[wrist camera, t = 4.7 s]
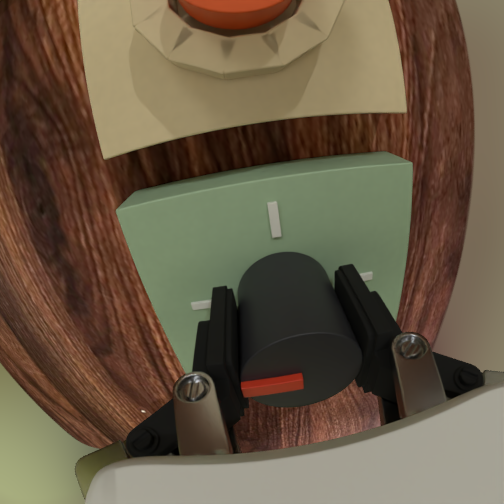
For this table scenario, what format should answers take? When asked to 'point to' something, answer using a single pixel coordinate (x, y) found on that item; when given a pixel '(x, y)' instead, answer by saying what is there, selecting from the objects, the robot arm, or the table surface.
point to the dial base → (267, 230)
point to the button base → (233, 68)
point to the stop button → (234, 12)
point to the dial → (293, 333)
